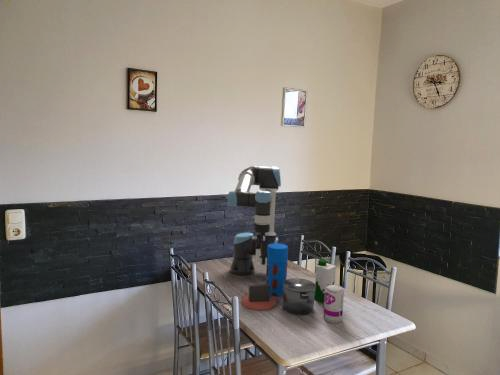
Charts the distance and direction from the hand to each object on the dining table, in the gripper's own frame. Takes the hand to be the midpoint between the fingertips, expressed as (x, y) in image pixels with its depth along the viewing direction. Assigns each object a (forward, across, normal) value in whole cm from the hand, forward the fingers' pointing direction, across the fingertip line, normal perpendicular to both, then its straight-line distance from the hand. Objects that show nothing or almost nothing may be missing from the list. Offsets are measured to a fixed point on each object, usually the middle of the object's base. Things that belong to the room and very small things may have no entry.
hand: (260, 266), depth 180 cm
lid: (+19, 0, 0) cm, 19 cm away
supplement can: (+19, +19, +31) cm, 41 cm away
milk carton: (+19, -2, +34) cm, 39 cm away
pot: (+19, +7, +18) cm, 27 cm away
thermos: (+19, -13, +11) cm, 26 cm away
